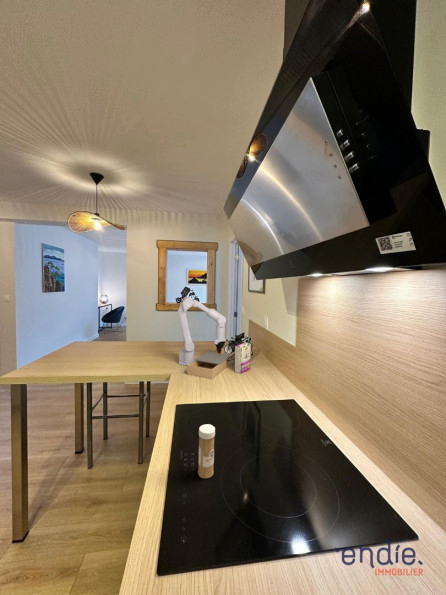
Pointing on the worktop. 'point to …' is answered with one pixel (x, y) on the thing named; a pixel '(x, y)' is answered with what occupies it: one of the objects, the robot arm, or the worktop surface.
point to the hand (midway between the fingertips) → (219, 352)
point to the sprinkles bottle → (206, 450)
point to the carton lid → (214, 357)
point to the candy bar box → (242, 357)
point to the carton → (206, 369)
